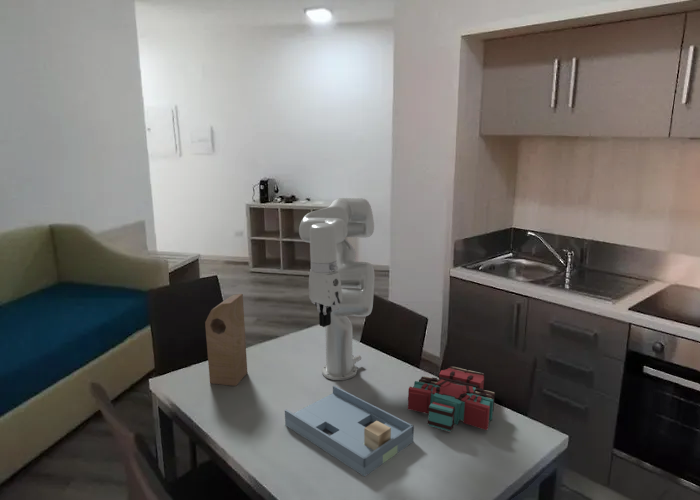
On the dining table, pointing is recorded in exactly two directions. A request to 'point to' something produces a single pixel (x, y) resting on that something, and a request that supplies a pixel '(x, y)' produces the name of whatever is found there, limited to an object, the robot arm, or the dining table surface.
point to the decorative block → (227, 342)
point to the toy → (453, 399)
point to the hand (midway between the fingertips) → (325, 324)
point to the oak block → (376, 435)
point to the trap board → (349, 429)
